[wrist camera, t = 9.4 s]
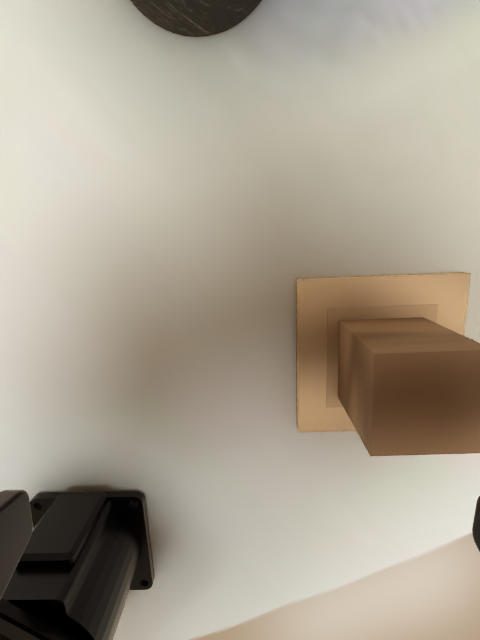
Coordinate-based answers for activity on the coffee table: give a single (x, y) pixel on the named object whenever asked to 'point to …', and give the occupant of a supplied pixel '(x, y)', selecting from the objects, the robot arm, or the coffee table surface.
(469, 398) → the walnut block
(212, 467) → the coffee table surface
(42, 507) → the robot arm
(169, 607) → the coffee table surface
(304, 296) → the cork pad
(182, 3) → the travel mug
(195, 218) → the coffee table surface
